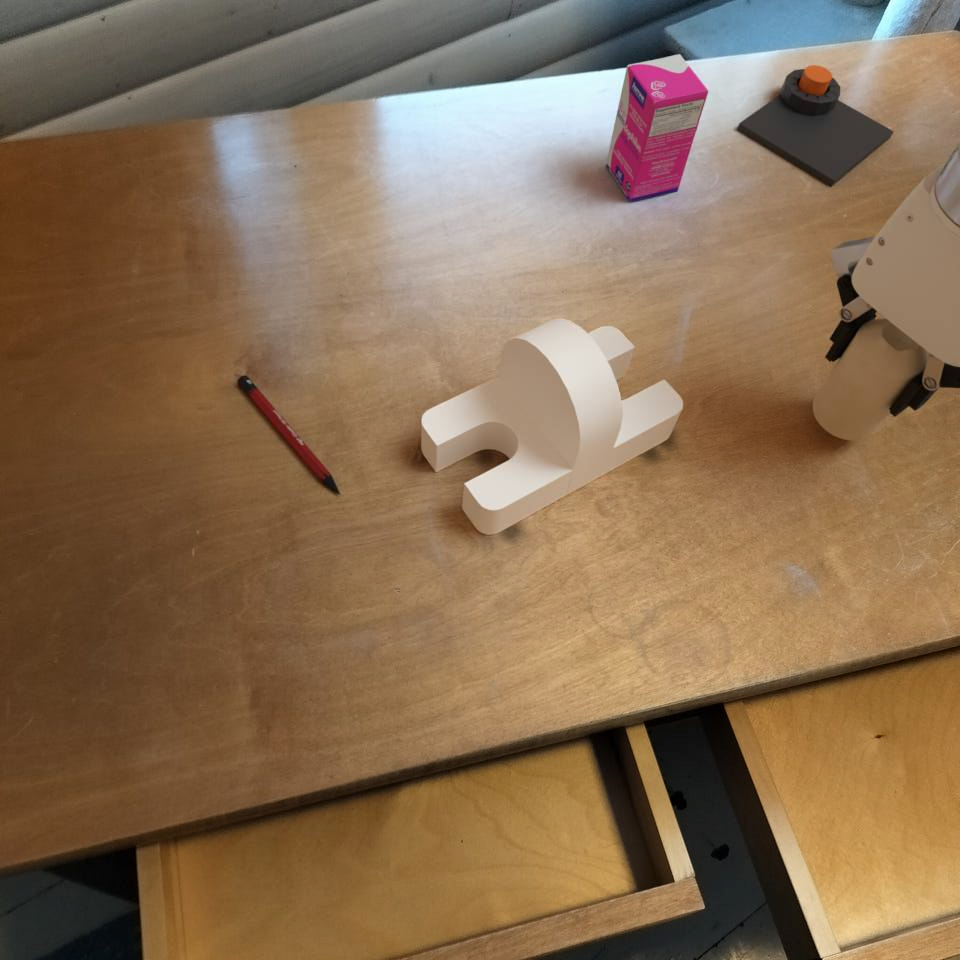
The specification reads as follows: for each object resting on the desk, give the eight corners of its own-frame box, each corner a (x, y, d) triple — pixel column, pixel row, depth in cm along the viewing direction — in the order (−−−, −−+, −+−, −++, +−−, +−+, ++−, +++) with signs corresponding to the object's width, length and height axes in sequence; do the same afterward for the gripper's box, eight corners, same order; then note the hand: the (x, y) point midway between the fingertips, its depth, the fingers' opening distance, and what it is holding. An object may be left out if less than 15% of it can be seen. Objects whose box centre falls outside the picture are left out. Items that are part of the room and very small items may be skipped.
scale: (796, 82, 97) (805, 62, 94) (892, 136, 92) (903, 116, 90) (733, 128, 91) (740, 107, 89) (830, 187, 87) (841, 167, 85)
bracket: (484, 540, 64) (496, 458, 54) (415, 443, 68) (415, 351, 58) (677, 434, 70) (719, 343, 60) (603, 351, 74) (631, 253, 64)
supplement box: (602, 166, 87) (625, 61, 77) (653, 156, 88) (683, 51, 78) (627, 204, 84) (654, 100, 74) (679, 192, 86) (713, 89, 76)
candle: (892, 430, 69) (958, 352, 60) (836, 449, 68) (894, 372, 59) (854, 379, 72) (911, 296, 63) (798, 397, 70) (849, 315, 62)
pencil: (336, 501, 65) (335, 495, 64) (238, 386, 70) (236, 378, 69) (346, 495, 65) (345, 489, 65) (248, 380, 71) (246, 373, 70)
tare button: (807, 76, 94) (814, 61, 92) (831, 89, 93) (837, 74, 91) (792, 87, 92) (799, 72, 91) (816, 100, 91) (822, 85, 90)
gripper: (1173, 251, 48) (992, 430, 64) (928, 91, 55) (818, 289, 70) (1100, 309, 46) (930, 481, 61) (852, 134, 52) (756, 329, 68)
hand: (871, 377), depth 65 cm, fingers closed on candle, 5 cm apart
